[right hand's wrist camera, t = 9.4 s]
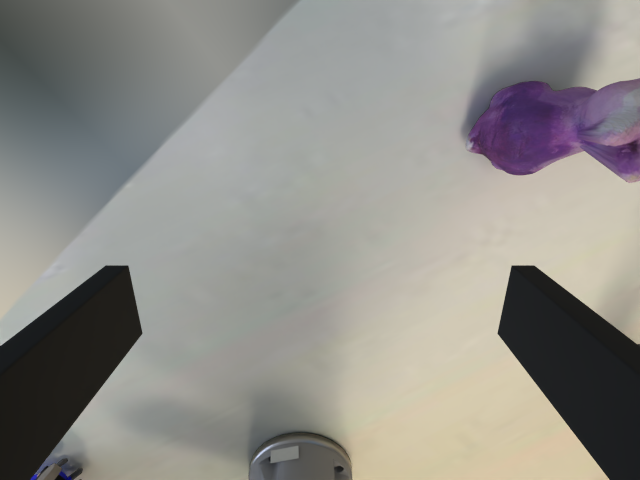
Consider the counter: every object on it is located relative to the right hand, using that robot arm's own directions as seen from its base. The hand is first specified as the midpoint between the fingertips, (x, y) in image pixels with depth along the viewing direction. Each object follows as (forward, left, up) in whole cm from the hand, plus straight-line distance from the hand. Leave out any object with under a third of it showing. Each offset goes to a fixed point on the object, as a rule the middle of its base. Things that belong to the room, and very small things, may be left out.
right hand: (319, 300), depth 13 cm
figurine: (+9, -19, -27) cm, 34 cm away
